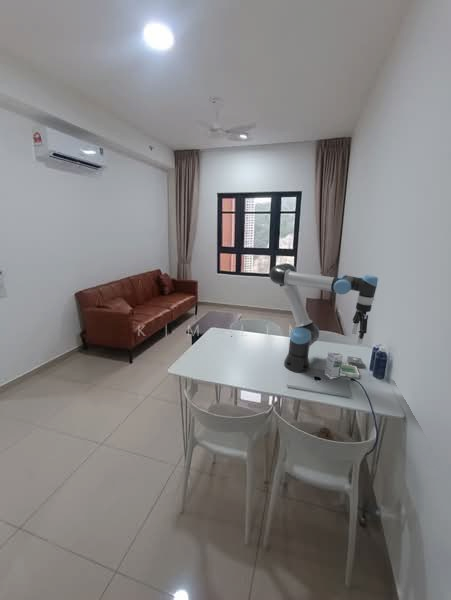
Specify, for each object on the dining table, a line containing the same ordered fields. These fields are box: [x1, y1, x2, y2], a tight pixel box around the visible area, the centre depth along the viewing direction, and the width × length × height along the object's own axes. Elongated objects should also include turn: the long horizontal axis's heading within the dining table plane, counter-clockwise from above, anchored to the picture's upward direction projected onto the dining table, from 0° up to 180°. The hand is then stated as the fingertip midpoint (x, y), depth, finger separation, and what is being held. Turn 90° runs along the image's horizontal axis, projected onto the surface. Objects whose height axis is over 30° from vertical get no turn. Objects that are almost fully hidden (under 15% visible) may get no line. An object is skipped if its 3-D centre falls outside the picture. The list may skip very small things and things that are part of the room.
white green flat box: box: [340, 362, 360, 380], centre depth 162 cm, size 10×13×3 cm
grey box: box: [346, 355, 364, 371], centre depth 170 cm, size 8×13×4 cm, turn 165°
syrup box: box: [324, 351, 344, 377], centre depth 155 cm, size 6×6×14 cm
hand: (356, 338), depth 155 cm, fingers open, 13 cm apart
